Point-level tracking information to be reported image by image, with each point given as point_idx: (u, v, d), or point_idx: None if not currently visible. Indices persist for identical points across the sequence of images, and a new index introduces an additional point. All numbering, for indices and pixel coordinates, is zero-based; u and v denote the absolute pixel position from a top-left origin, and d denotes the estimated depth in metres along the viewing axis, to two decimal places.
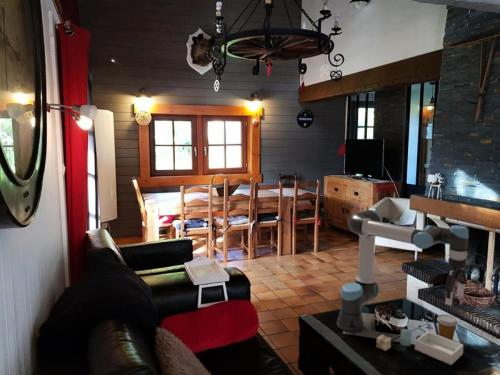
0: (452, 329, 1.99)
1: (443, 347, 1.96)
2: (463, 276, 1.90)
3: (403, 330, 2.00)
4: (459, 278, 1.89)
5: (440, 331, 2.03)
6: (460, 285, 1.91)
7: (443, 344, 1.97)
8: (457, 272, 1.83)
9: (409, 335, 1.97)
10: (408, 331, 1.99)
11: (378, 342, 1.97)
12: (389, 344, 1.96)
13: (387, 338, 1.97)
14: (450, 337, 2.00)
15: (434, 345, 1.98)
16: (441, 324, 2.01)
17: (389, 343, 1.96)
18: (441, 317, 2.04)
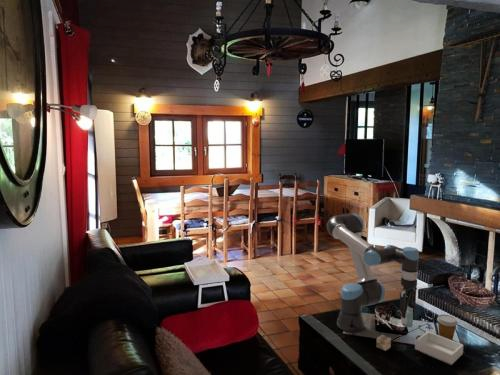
0: (452, 329, 1.99)
1: (443, 347, 1.96)
2: (413, 299, 2.00)
3: None
4: (409, 300, 1.98)
5: (440, 331, 2.03)
6: (409, 309, 1.99)
7: (443, 344, 1.97)
8: (408, 292, 1.94)
9: (411, 315, 1.95)
10: (410, 311, 1.97)
11: (378, 342, 1.97)
12: (389, 344, 1.96)
13: (387, 338, 1.97)
14: (450, 337, 2.00)
15: (434, 345, 1.98)
16: (441, 324, 2.01)
17: (389, 343, 1.96)
18: (441, 317, 2.04)
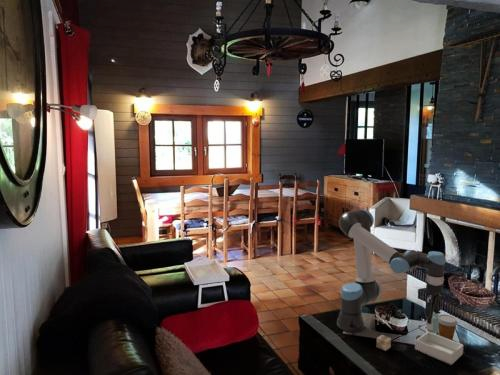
0: (452, 329, 1.99)
1: (443, 347, 1.96)
2: None
3: None
4: (435, 305, 1.94)
5: (440, 331, 2.03)
6: (434, 314, 1.95)
7: (443, 344, 1.97)
8: (434, 297, 1.90)
9: (437, 321, 1.91)
10: (435, 317, 1.93)
11: (378, 342, 1.97)
12: (389, 344, 1.96)
13: (387, 338, 1.97)
14: (450, 337, 2.00)
15: (434, 345, 1.98)
16: (441, 324, 2.01)
17: (389, 343, 1.96)
18: (441, 317, 2.04)
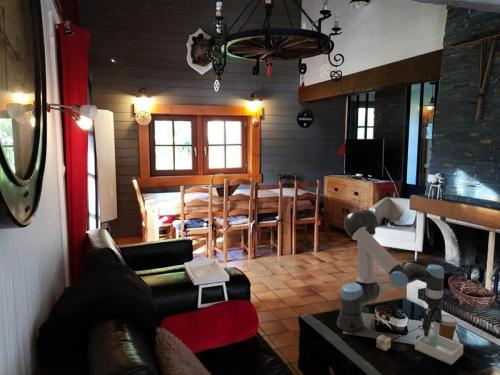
0: (452, 329, 1.99)
1: (443, 347, 1.96)
2: (439, 314, 1.97)
3: None
4: (435, 316, 1.96)
5: (440, 331, 2.03)
6: (436, 324, 1.98)
7: (443, 344, 1.97)
8: (433, 310, 1.91)
9: (435, 339, 1.92)
10: (434, 334, 1.94)
11: (378, 342, 1.97)
12: (389, 344, 1.96)
13: (387, 338, 1.97)
14: (450, 337, 2.00)
15: None
16: (441, 324, 2.01)
17: (389, 343, 1.96)
18: None
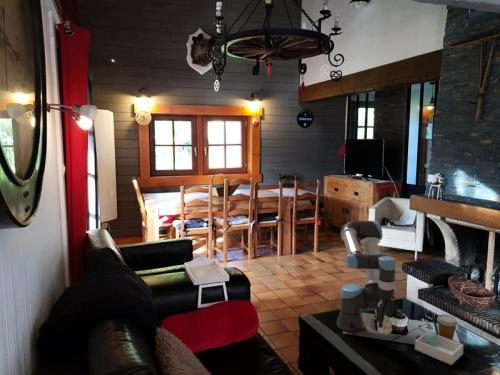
0: (452, 329, 1.99)
1: (443, 347, 1.96)
2: (391, 308, 1.98)
3: (429, 333, 1.96)
4: (387, 309, 1.97)
5: (440, 331, 2.03)
6: (387, 318, 1.98)
7: (443, 344, 1.97)
8: (385, 302, 1.92)
9: (435, 338, 1.93)
10: (434, 334, 1.95)
11: None
12: (390, 328, 1.95)
13: (388, 322, 1.96)
14: (450, 337, 2.00)
15: None
16: (441, 324, 2.01)
17: (390, 327, 1.95)
18: (441, 317, 2.04)
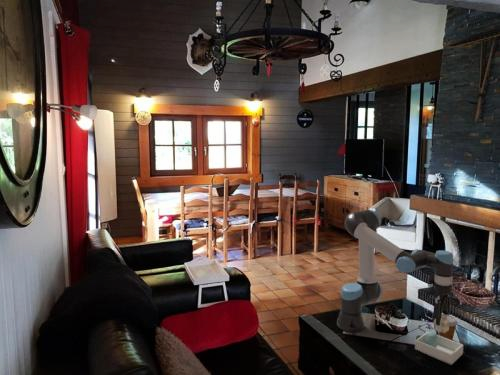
0: (452, 329, 1.99)
1: (443, 347, 1.96)
2: None
3: (429, 333, 1.96)
4: (443, 306, 1.88)
5: None
6: (443, 316, 1.89)
7: (443, 344, 1.97)
8: (443, 298, 1.84)
9: (435, 338, 1.93)
10: (434, 334, 1.95)
11: None
12: (447, 326, 1.87)
13: (445, 320, 1.87)
14: (450, 337, 2.00)
15: None
16: None
17: (447, 325, 1.87)
18: None
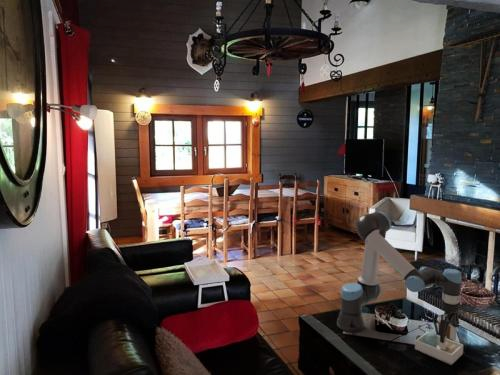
0: None
1: None
2: (456, 319, 1.92)
3: (429, 333, 1.96)
4: (452, 321, 1.91)
5: None
6: (453, 328, 1.92)
7: None
8: (450, 316, 1.85)
9: (435, 339, 1.93)
10: (434, 334, 1.95)
11: (442, 349, 1.89)
12: None
13: (451, 345, 1.89)
14: None
15: None
16: None
17: (454, 350, 1.88)
18: None
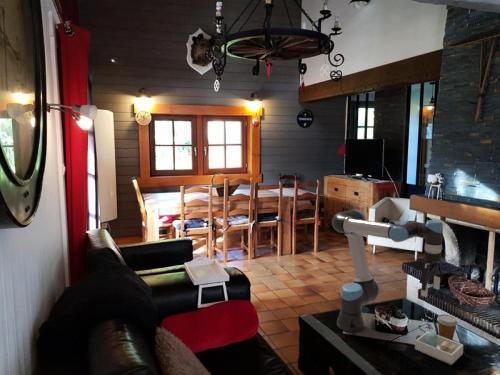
0: (452, 329, 1.99)
1: None
2: (439, 269, 1.98)
3: (429, 333, 1.96)
4: (435, 271, 1.96)
5: (440, 331, 2.03)
6: (436, 278, 1.98)
7: None
8: (432, 265, 1.90)
9: (435, 338, 1.93)
10: (434, 334, 1.95)
11: (442, 349, 1.89)
12: None
13: (451, 345, 1.89)
14: (450, 337, 2.00)
15: None
16: (441, 324, 2.01)
17: (454, 350, 1.88)
18: (441, 317, 2.04)
